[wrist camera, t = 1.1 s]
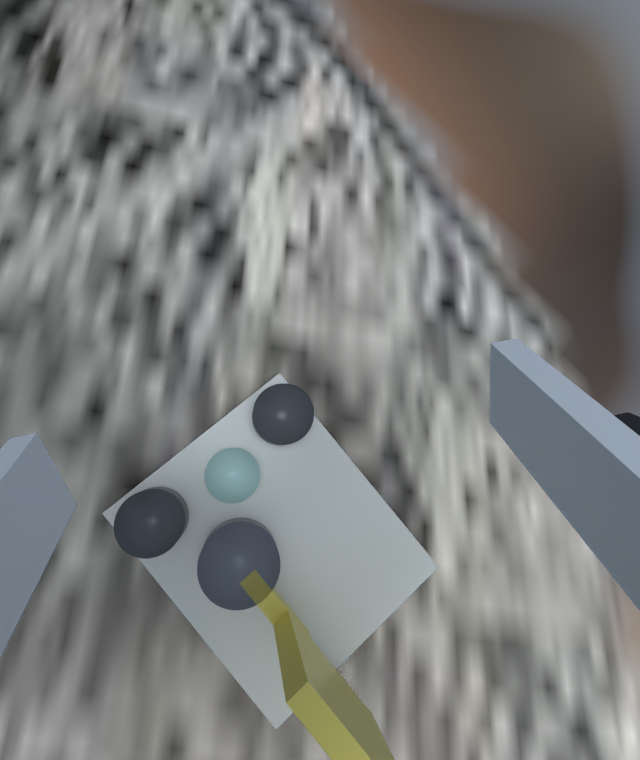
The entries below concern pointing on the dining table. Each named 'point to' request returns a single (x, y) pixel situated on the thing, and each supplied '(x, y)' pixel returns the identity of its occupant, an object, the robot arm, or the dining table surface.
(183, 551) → the base
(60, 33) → the dining table surface
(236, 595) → the yellow flat slab
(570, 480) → the robot arm
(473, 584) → the dining table surface
